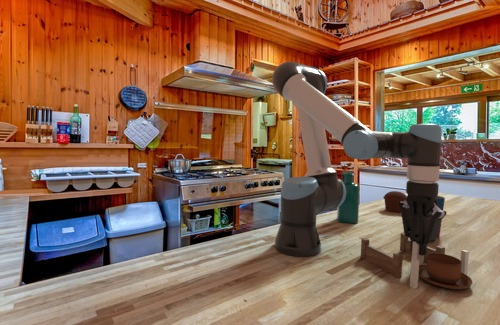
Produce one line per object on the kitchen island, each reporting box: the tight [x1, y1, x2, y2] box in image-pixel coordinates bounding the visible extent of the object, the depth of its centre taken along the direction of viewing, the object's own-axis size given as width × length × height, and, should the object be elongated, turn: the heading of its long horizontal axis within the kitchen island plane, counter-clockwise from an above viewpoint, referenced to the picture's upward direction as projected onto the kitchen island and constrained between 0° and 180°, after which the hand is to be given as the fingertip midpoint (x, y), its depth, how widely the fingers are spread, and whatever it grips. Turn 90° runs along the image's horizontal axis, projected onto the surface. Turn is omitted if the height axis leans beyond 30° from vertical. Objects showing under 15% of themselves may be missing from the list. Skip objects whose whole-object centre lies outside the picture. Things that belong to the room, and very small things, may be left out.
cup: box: [429, 195, 446, 238], centre depth 110 cm, size 7×7×15 cm
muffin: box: [383, 190, 408, 214], centre depth 148 cm, size 12×11×10 cm
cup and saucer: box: [418, 253, 473, 290], centre depth 74 cm, size 12×12×6 cm
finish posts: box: [409, 249, 470, 290], centre depth 73 cm, size 19×1×7 cm, turn 110°
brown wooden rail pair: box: [360, 232, 446, 278], centre depth 85 cm, size 18×14×6 cm
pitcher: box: [336, 170, 361, 224], centre depth 128 cm, size 10×8×22 cm
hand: (417, 264), depth 80 cm, fingers closed
